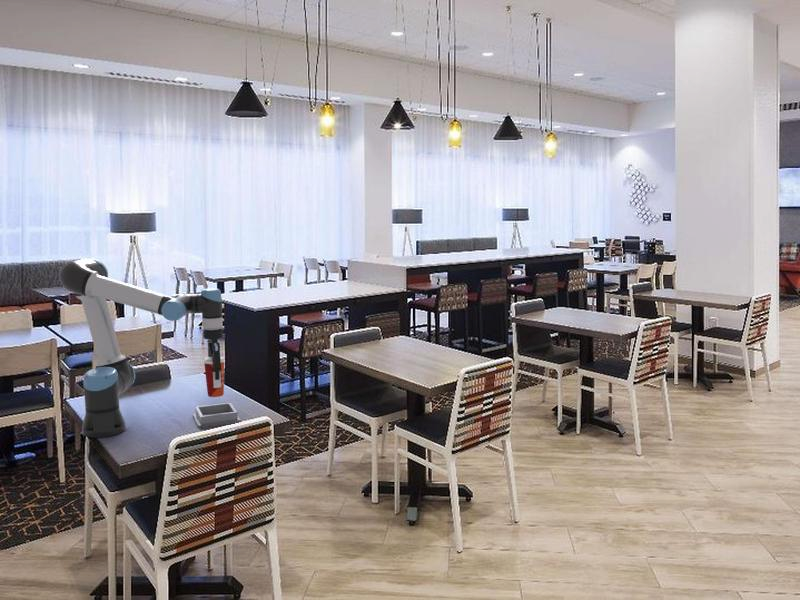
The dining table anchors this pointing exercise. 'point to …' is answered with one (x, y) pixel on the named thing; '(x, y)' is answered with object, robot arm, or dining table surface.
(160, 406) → the dining table surface
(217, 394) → the coffee cup
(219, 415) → the tray
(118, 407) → the robot arm
